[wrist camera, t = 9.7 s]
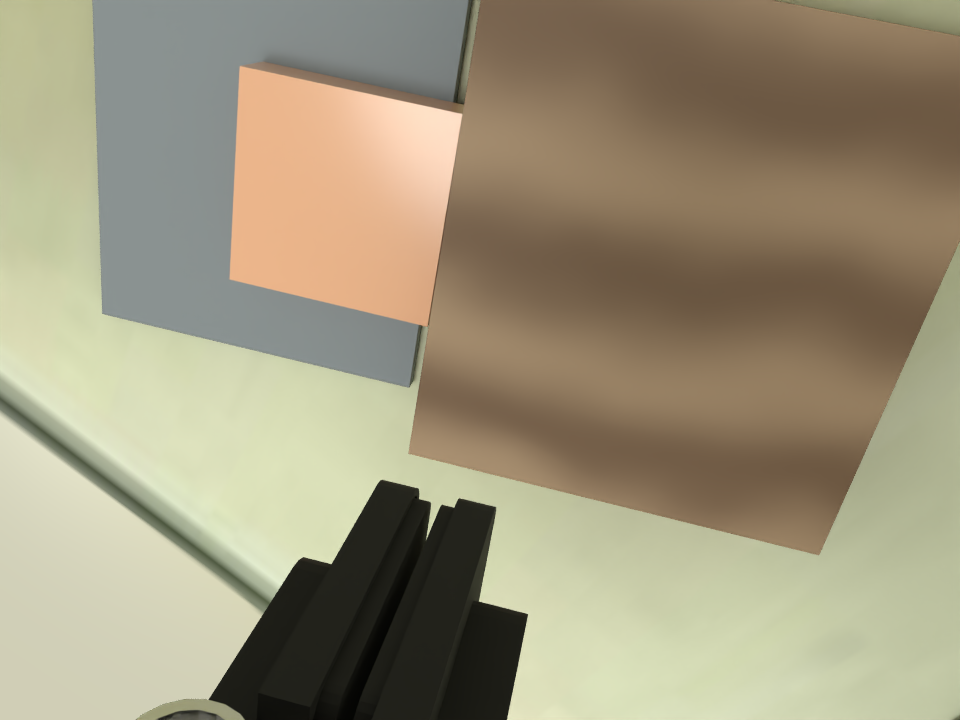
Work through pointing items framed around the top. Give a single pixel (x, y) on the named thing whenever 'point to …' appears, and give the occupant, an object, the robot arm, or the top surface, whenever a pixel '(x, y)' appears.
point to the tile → (341, 190)
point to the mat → (211, 159)
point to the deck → (689, 253)
